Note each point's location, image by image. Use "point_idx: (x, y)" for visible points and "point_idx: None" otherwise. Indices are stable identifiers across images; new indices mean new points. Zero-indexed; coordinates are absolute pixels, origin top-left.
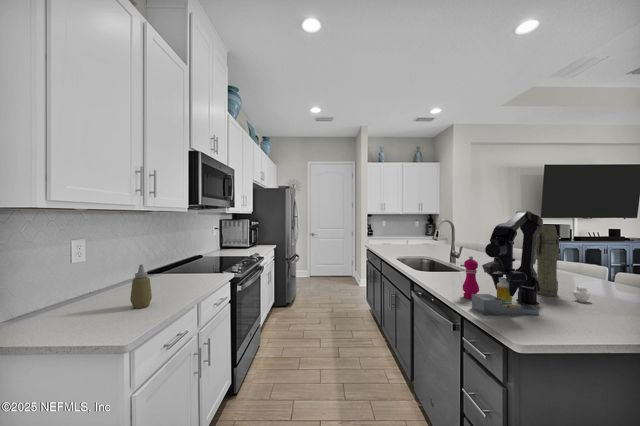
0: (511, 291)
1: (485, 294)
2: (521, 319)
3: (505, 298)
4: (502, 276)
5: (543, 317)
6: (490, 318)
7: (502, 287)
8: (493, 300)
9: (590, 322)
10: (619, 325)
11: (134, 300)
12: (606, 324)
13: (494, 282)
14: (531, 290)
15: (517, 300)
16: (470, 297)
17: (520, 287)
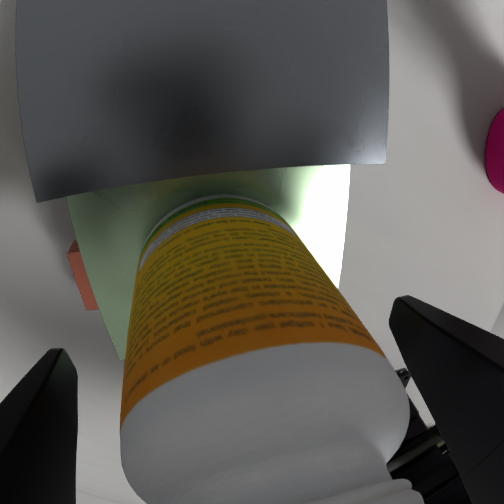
0: (10, 408)
1: (358, 83)
2: (24, 260)
3: (136, 284)
4: (475, 498)
5: (116, 390)
6: (7, 24)
7: (136, 394)
8: (19, 62)
9: (112, 470)
10: (113, 493)
11: None
12: (108, 483)
13: (492, 349)
14: None
15: (400, 374)
16: (501, 126)
17: (419, 440)
